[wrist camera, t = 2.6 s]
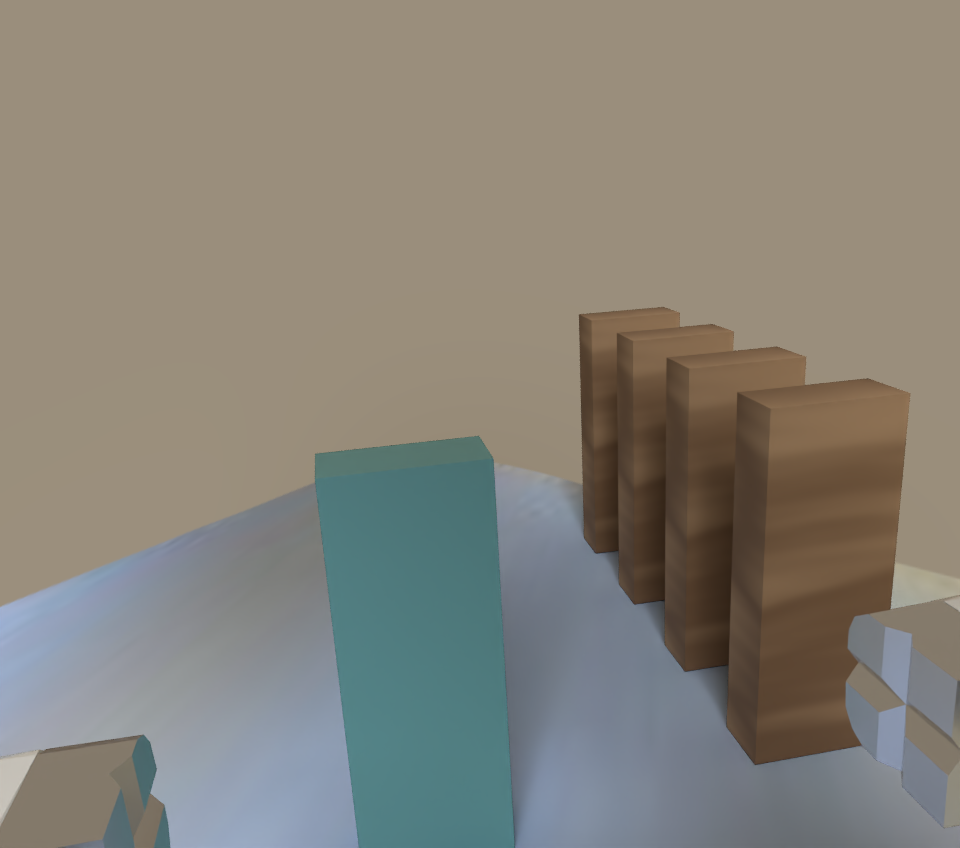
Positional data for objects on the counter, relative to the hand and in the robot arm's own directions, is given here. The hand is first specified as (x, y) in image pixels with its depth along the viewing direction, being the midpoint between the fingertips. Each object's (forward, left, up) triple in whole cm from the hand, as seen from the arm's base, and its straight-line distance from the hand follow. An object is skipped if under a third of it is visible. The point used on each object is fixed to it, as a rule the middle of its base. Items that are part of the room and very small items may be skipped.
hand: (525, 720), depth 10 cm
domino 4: (+1, +23, -13) cm, 26 cm away
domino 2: (-4, +33, -13) cm, 35 cm away
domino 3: (-2, +28, -13) cm, 31 cm away
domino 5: (+4, +18, -13) cm, 23 cm away
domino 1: (-6, +11, -13) cm, 18 cm away
